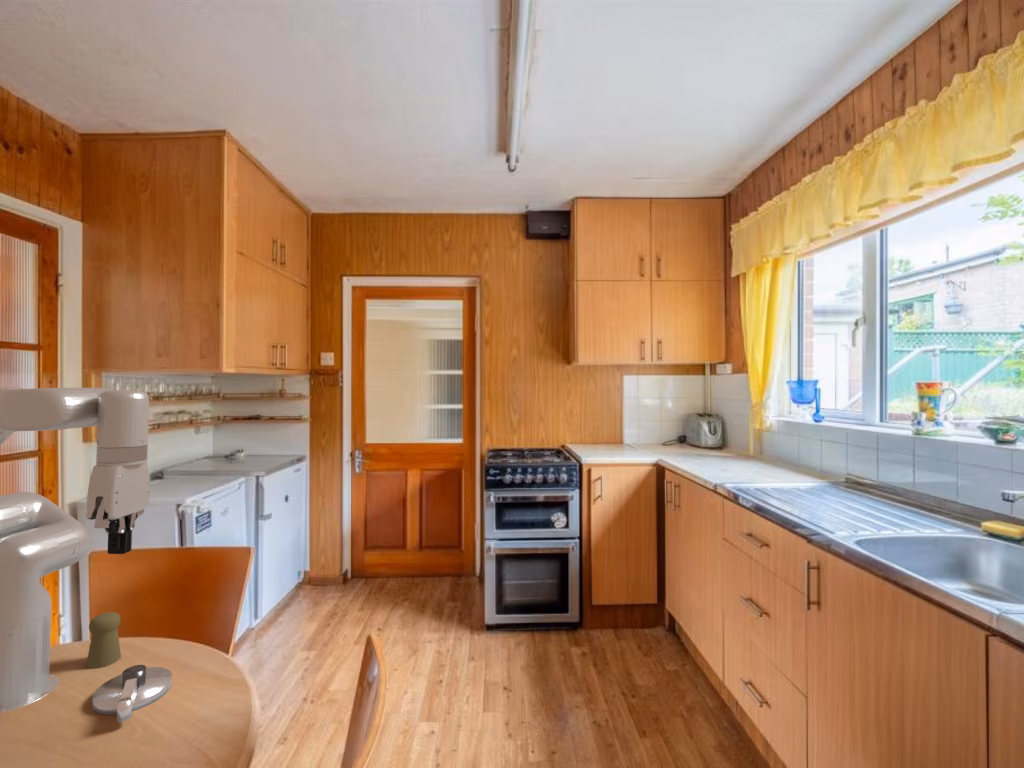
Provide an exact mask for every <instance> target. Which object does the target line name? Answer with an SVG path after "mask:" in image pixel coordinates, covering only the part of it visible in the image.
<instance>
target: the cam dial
mask: <svg viewBox="0 0 1024 768" xmlns="http://www.w3.org/2000/svg"><path fill="white" fill-rule="evenodd" d="M172 675H173V673H172V671H171V670H169V669H168V668H165V667H160V666H151V667H147V666H146V665H145V664H136V665H132V666H129V667H127V668H125V669H124V670H123V671H122V673H121V674H119V675H117V676H114V677H112V678H110V679H109V680H107V681H105V682H104V683H103V684H101V685H100V686H99V687H98V688H96V690H95V691H94V693H93V695H92V710H93V711H94V712H96V713H98V714H100V715H109V716H112V715H116V721H117V722H119V723H122V722H125V721H128V720H129V719H131V718H132V716H133V715H132V714H133V712H134V711H136V710H139V709H142V708H145V707H146V706H149V705H151V704H153V703H155V702H156V701H157V700H159V699H161V698H163V697H164V696H165V695H166V694H167V693H168V692H169V690H171V688H172V683H173V682H172V680H173V676H172ZM130 717H131V718H130Z"/></svg>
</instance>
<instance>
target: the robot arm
mask: <svg viewBox="0 0 1024 768" xmlns="http://www.w3.org/2000/svg"><path fill="white" fill-rule="evenodd" d="M149 413H150V397H149V395H148V393H147V392H146V391H144V390H143V391H142V390H136V389H111V388H105V387H44V388H43V387H41V388H39V387H37V388H22V387H18V386H8V387H7V386H5V387H3V386H2V387H0V447H1V446H2V445H3V444H4V443H5V441H6V440H8V439H9V437H11V436H12V434H14V433H15V432H38V431H39V432H44V431H45V432H46V431H60V430H71V429H78V428H92V427H97V431H96V432H97V433H96V455H95V456H96V458H95V459H96V460H95V463H96V464H95V465H93V467H92V470H91V473H90V477H89V482H88V488H87V489H88V490H87V496H86V504H85V505H86V507H85V517H86V519H87V520H90V521H91V520H92V521H94V520H95V521H94V525H93V526H94V528H95V529H104V531H105V533H106V534H107V554H108V555H124V554H127V553H128V552H129V553H130V552H131V551H132V545H133V543H132V541H133V539H132V538H133V530H134V528H135V526H136V520H137V518H138V517H140V516H141V515H143V514H144V512H145V509H146V508H147V507H148V506H149V502H150V489H151V488H150V486H151V484H150V472H149V471H150V470H149V465H148V447H149V445H148V444H149V416H150V415H149ZM91 538H92V537H91V535H90V533H89V531H88V529H87V528H86V527H85V526H84V525H83V524H82V523H81V522H80V521H78V520H77V519H76V518H75V517H73V516H72V515H71V514H69V513H68V512H66V511H65V510H63V508H61V507H60V506H59V505H57V504H56V503H54V502H53V501H51V500H50V499H48V498H47V497H45V496H43V495H41V494H39V493H35V492H31V491H21V492H19V491H18V492H12V493H6V494H2V495H0V714H4V713H7V712H11V711H13V710H14V711H15V710H19V709H20V708H23V707H25V706H28V705H30V704H33V703H35V702H37V701H38V700H40V699H43V698H44V697H47V695H49V694H51V693H52V692H53V690H55V689H56V688H57V687H58V685H59V684H60V678H59V677H58V676H57V675H54V674H52V673H51V674H50V662H51V661H50V657H51V656H50V655H51V631H52V630H51V629H52V626H51V625H52V598H51V594H50V593H49V591H48V590H47V589H46V588H45V587H44V586H43V584H42V583H41V580H40V579H41V578H43V577H45V576H48V575H49V574H51V573H54V572H57V571H60V570H62V569H65V568H67V567H69V566H72V565H75V564H76V563H78V562H80V561H81V560H83V558H85V557H86V556H87V555H88V554H89V552H90V550H91V546H92V539H91ZM44 693H45V694H44Z"/></svg>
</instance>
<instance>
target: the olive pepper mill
mask: <svg viewBox="0 0 1024 768" xmlns="http://www.w3.org/2000/svg"><path fill="white" fill-rule="evenodd" d="M121 619H122V618H121V616H120V614H119V613H118V612H115V611H110V612H104V613H100V614H98V615H96V616H94V617H93V618H92V619H91V620H90V622H89V625H88V630H89V632H90V633H91V639H90V642H89V648H88V654H87V659H86V668H88V669H92V670H93V669H102V668H106V667H108V666H111V665H113V664H115V663H117V662H118V661H119V660H121V658H122V654H121V645H120V639H119V632H118V628H119V626H120V623H121Z"/></svg>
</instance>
